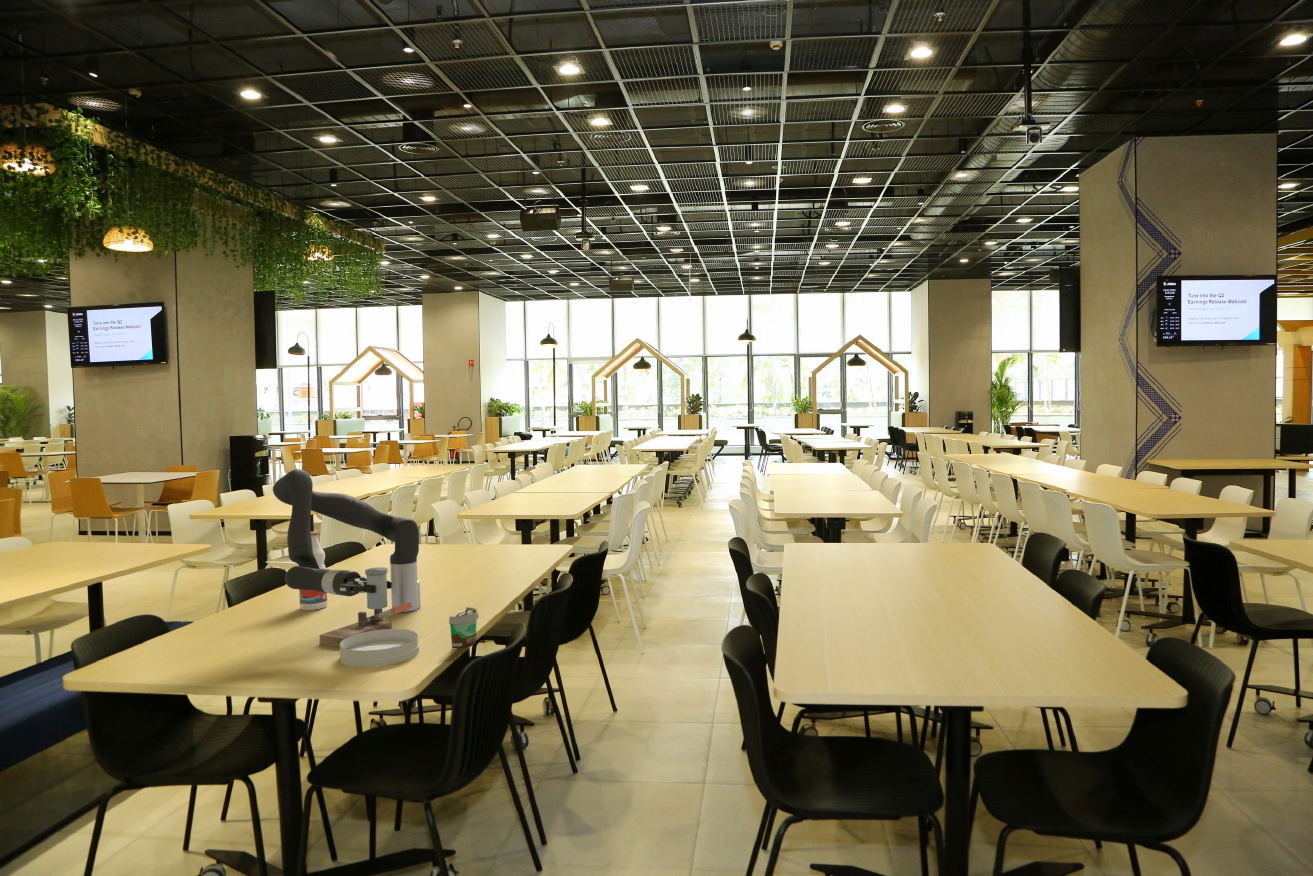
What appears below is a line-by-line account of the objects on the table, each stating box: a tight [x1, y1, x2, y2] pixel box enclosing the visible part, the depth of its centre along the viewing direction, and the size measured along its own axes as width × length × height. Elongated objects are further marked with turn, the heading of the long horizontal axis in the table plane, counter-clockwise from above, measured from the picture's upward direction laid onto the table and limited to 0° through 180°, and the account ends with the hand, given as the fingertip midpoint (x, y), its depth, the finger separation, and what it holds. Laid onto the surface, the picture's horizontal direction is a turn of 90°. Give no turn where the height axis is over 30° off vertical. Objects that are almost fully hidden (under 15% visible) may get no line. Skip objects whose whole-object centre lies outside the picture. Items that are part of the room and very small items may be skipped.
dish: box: [339, 628, 420, 668], centre depth 234 cm, size 22×22×5 cm
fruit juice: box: [298, 531, 328, 611], centre depth 293 cm, size 9×9×28 cm
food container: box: [448, 607, 480, 650], centre depth 242 cm, size 12×6×10 cm, turn 168°
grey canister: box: [364, 566, 389, 610], centre depth 233 cm, size 6×6×11 cm
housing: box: [319, 608, 393, 648], centre depth 253 cm, size 20×10×7 cm, turn 154°
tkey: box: [367, 602, 412, 624], centre depth 255 cm, size 7×2×16 cm
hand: (383, 587), depth 232 cm, fingers closed on grey canister, 5 cm apart
